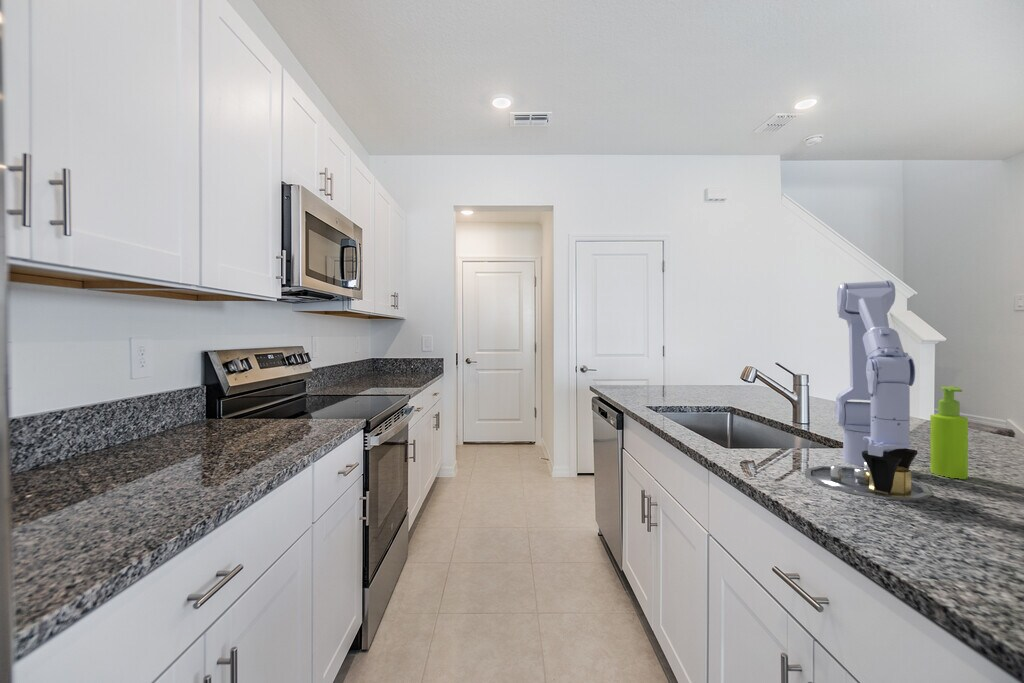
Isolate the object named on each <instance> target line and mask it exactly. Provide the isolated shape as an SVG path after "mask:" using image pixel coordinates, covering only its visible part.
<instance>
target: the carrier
mask: <svg viewBox="0 0 1024 683" xmlns="http://www.w3.org/2000/svg"><path fill="white" fill-rule="evenodd" d="M831 466H832V465H818V466H812V467H808V468H805V471H804V478H806V479H808V480H810V481H811V482H814V483H815V484H818V485H819V486H822V487H825V488H829V489H832V490H836V491H839V492H843V493H847V494H851V495H857V496H860V497H861V496H863V497H868V498H874V499H882V500H891V501H893V500H894V501H920V500H925V499H928V498H930V497H932V496H933V492H932V491H931V489H930V488H929V487H928V485H926V484H922V483H920V482H917V481H915V480H913V479H911V495H909V496H894V495H887V494H883V493H879V492H875V491H873V490H872V489H871V488H869V467H868V465H867V463H866V462H864V466H863V468H862V467H852V466H844V465H843V466H841V465H839V467H841V476H842V482H841V483H836V482H832V481H831Z"/></svg>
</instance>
